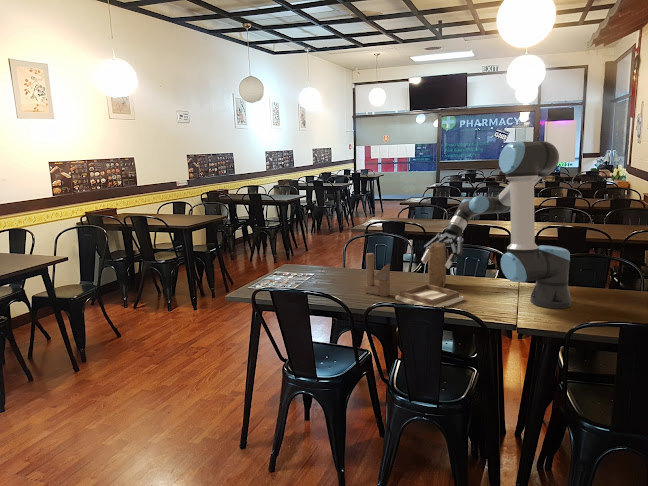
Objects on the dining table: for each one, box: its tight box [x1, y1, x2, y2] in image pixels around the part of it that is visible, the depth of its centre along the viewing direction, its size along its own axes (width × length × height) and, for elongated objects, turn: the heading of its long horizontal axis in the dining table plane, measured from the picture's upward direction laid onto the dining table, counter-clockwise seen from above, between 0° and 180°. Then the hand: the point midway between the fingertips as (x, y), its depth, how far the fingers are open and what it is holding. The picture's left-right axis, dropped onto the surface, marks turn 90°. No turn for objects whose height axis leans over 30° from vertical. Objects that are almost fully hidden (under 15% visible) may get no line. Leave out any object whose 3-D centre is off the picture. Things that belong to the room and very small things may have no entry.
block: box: [427, 242, 447, 288], centre depth 225 cm, size 11×8×20 cm
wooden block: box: [364, 252, 391, 297], centre depth 215 cm, size 4×11×18 cm, turn 56°
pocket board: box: [395, 283, 465, 308], centre depth 206 cm, size 20×20×4 cm
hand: (434, 264), depth 224 cm, fingers open, 13 cm apart
